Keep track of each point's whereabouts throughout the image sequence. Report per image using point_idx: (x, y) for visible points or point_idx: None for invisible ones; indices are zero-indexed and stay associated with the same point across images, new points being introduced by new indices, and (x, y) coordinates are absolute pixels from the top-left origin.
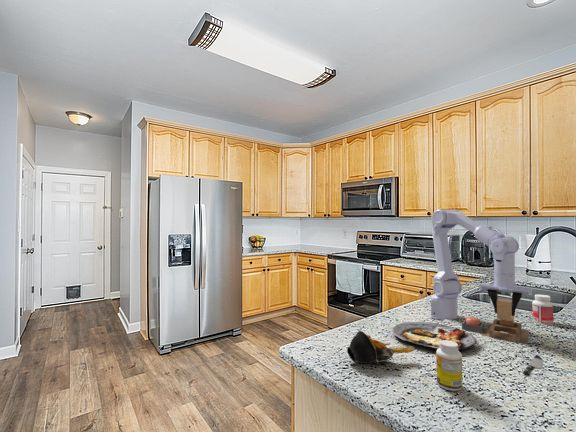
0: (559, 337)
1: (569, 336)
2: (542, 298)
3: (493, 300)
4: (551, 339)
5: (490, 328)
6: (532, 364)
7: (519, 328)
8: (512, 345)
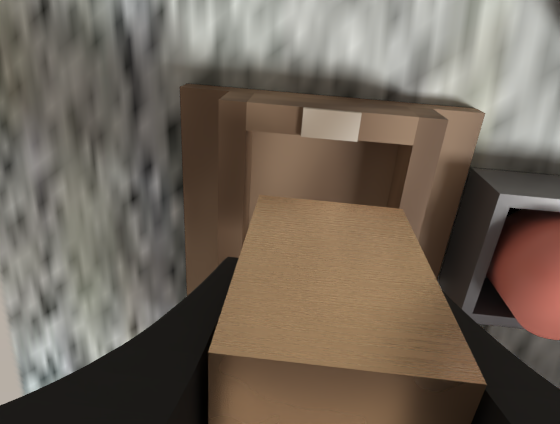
0: (62, 363)
1: None
2: None
3: (541, 400)
4: (88, 315)
5: (429, 191)
6: None
7: None
8: (276, 68)
